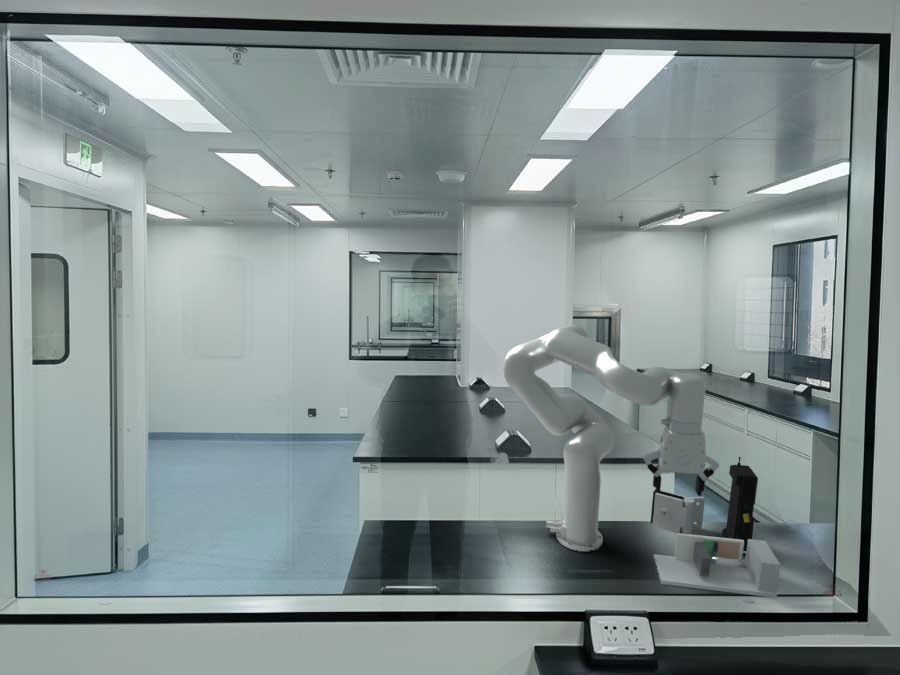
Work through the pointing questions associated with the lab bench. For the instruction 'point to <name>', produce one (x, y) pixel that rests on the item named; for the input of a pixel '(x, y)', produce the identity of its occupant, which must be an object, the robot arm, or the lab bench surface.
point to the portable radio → (741, 504)
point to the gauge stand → (749, 580)
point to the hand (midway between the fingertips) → (677, 491)
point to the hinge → (677, 512)
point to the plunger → (712, 559)
